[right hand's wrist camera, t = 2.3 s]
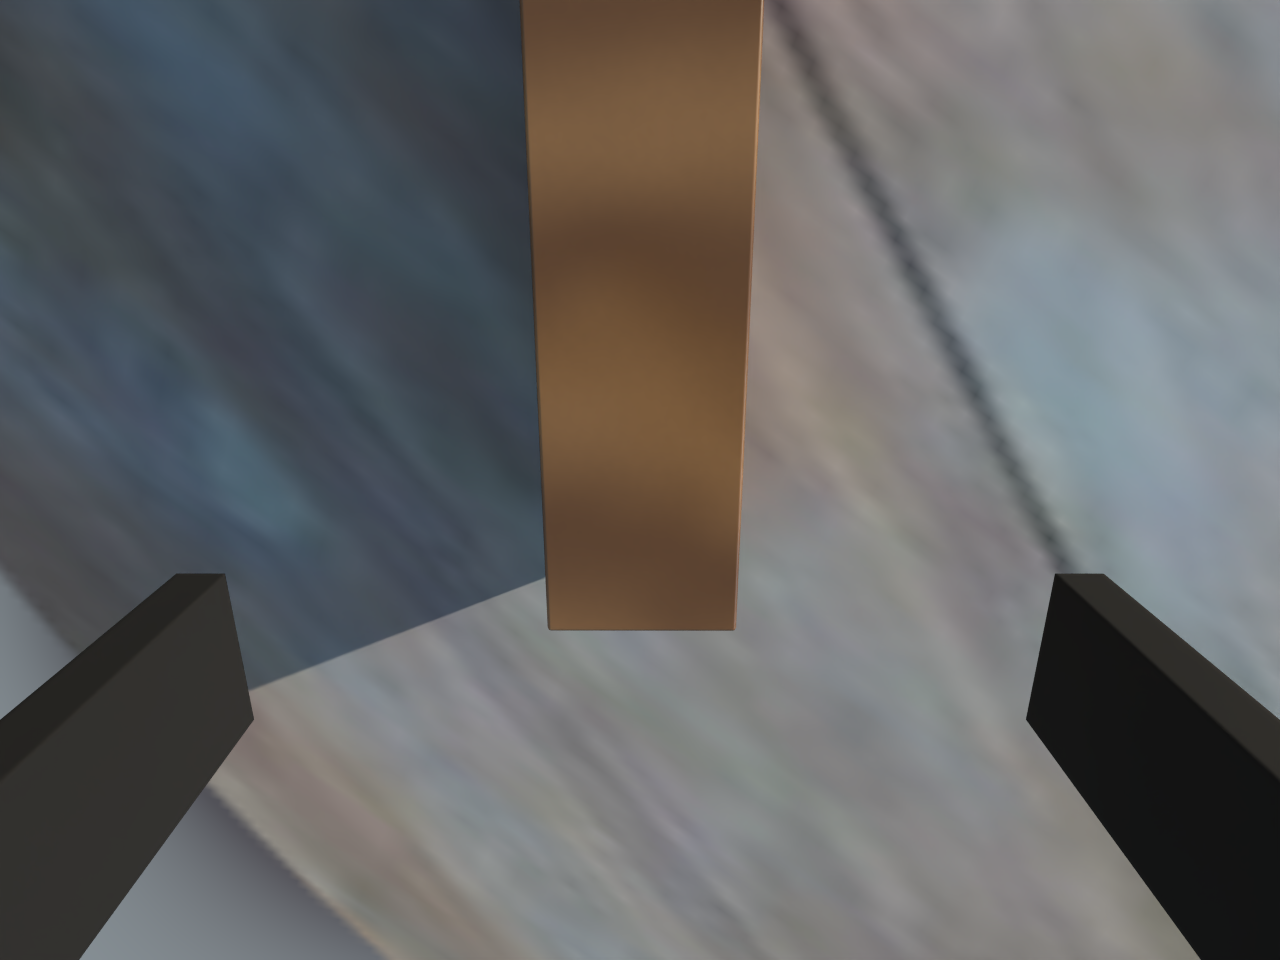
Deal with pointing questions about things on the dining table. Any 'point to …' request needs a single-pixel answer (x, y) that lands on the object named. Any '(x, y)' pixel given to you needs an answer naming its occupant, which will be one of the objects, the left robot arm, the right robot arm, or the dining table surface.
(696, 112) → the bar
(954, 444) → the dining table surface
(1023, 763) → the dining table surface
